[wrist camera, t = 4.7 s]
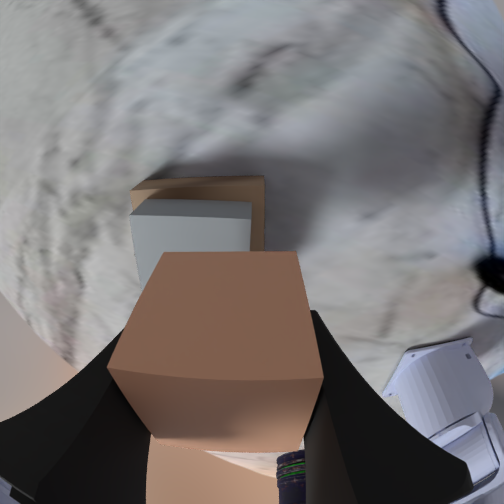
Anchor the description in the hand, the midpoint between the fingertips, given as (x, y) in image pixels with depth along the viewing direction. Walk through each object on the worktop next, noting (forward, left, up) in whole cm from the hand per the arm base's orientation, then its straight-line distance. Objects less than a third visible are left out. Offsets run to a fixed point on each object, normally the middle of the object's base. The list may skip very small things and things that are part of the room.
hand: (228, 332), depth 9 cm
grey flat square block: (+2, 0, -7) cm, 7 cm away
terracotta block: (0, 0, -2) cm, 2 cm away
